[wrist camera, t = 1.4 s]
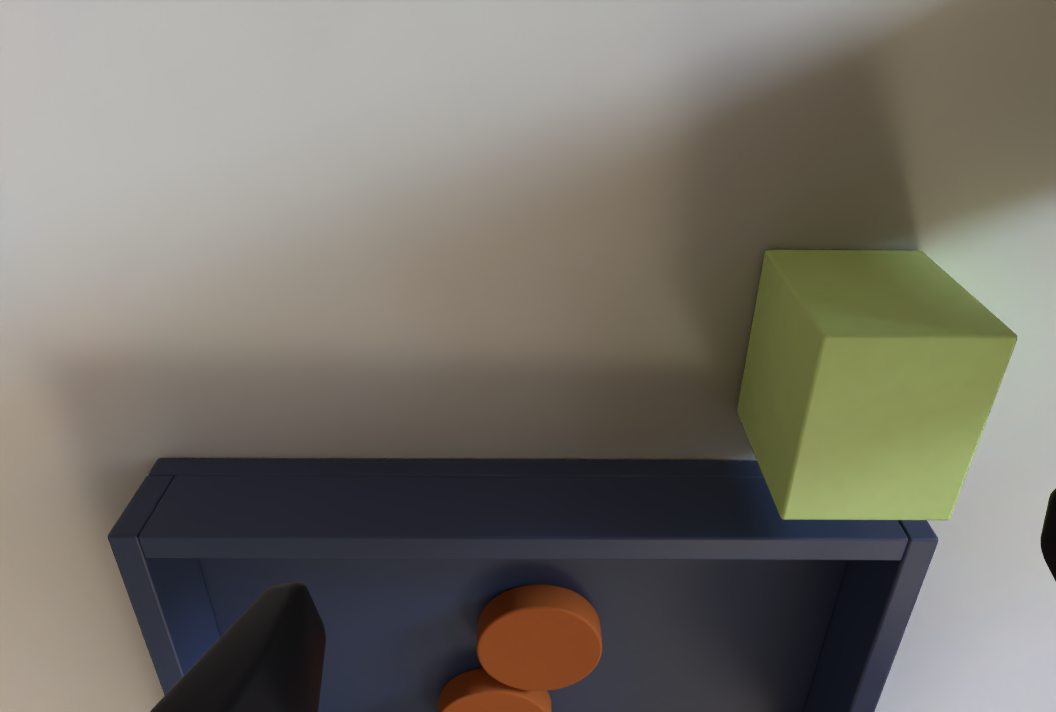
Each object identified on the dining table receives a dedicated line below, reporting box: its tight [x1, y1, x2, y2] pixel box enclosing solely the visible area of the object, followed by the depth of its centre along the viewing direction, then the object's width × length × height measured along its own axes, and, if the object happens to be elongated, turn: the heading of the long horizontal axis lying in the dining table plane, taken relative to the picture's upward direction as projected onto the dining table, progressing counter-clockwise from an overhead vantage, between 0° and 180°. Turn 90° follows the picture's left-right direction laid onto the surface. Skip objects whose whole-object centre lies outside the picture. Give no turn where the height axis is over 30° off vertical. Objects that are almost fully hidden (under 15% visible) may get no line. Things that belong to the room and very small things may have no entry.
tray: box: [108, 458, 938, 712], centre depth 25 cm, size 22×16×3 cm
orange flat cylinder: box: [476, 584, 602, 691], centre depth 25 cm, size 4×4×1 cm
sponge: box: [737, 250, 1017, 520], centre depth 19 cm, size 4×5×4 cm
